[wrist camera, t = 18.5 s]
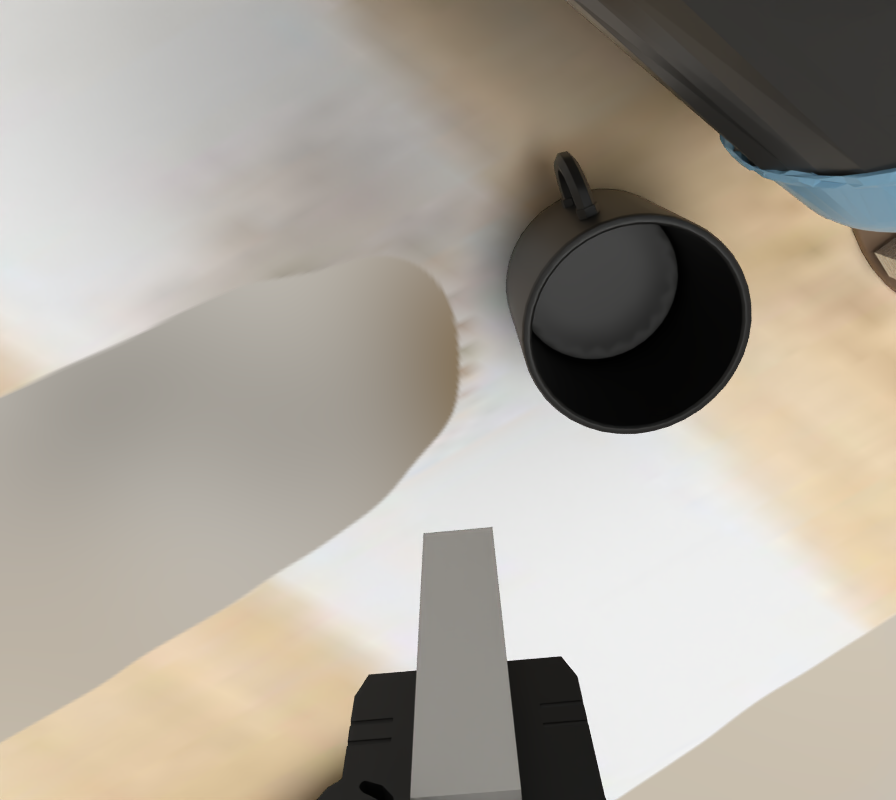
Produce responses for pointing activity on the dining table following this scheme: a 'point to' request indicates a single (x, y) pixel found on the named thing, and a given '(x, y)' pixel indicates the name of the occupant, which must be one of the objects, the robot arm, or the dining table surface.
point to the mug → (625, 308)
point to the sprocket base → (872, 243)
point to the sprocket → (888, 257)
